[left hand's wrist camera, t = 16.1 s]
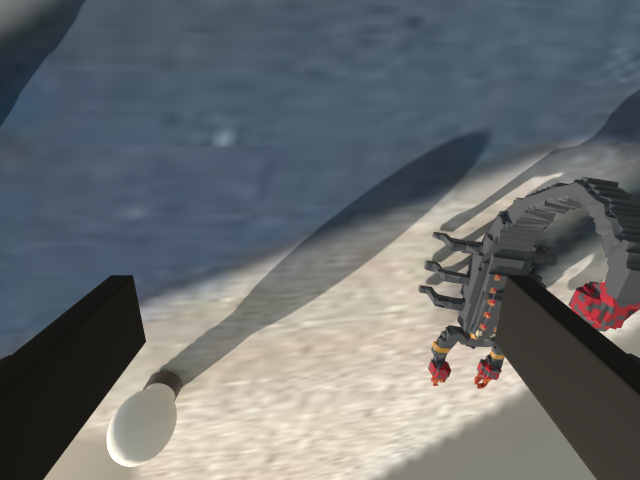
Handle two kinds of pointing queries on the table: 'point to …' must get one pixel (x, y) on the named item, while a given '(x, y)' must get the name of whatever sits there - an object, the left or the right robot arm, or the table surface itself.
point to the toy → (519, 252)
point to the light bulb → (144, 421)
